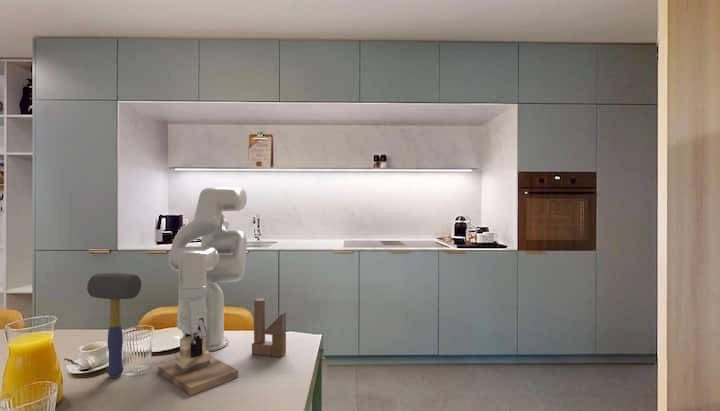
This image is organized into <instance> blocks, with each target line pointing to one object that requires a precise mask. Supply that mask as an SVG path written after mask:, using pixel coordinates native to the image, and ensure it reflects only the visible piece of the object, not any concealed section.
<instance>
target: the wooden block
mask: <svg viewBox="0 0 720 411" xmlns="http://www.w3.org/2000/svg"><path fill="white" fill-rule="evenodd" d="M266 335H271V341H268V340H266ZM286 339H287V311H284V312H283V313H281V314H280V315H279V316H278V317H277V318H276V319H275V320H274V321H273V322H272V323H271V324H270V325H269V326H268V327H267V328H266V299H265V298H262V297H261V298H255V299H254V300H253V343H251V355H256V356H267V357H273V358H275V357H277V358H283V357H284V356H285V355H286V354H287V340H286Z"/></svg>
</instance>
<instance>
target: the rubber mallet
mask: <svg viewBox="0 0 720 411" xmlns="http://www.w3.org/2000/svg"><path fill="white" fill-rule="evenodd" d="M141 288H142V280H141V278H140V276H139V275H137V274H135V273H134V274H133V273H123V272H107V273H106V272H105V273H102V272H101V273H95V274H93V275H92V276H91V277H90V279H89V280H88V282H87V286H86V289H87V293H88V295H89V296H91V298H95V299H104V300H109V326H108V327H109V328H108V330H107V331H108V332H107V349H108V350H107V351H108V367H107V369H106V370H107V375H108V376H109V378H118V377H120V376H122V374H123V372H124V365H123V354H122V353H123V345H124V339H123V338H124V337H123V328H122V325H121V300H132V299H135V298H136V297H137V296H138V295H139V293H140V292H141V290H142V289H141Z"/></svg>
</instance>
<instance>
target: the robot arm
mask: <svg viewBox="0 0 720 411" xmlns="http://www.w3.org/2000/svg"><path fill="white" fill-rule="evenodd" d="M246 192H247V191H246V190H245V188H243V187H239V186H238V187H226V186H225V187H222V186H221V187H220V186H219V187H218V186H217V187H216V186H215V187H214V186H213V187H206V188H203V189H202V190H201V192H200V193H199V196H198V200H197V204H196V209H195V213H194V217H193V220H191V221H190V222H188V223H187V224H186V225H185V226H183V227H182V228H181V229H180V230H179V231H178V232H177V233H176V234H175V235H174V238H173V240H172V243H171V247H170V250H169V256H168V264H169V267H170V268H171V269H172V270H174V271H177V272H178V303H177V315H176V327H177V329H178V330H180V331H181V332H182V338H184V337H187V336H191V335H192V344H191V357H192V358H194V357H197V356H201V355H202V342H203V339H204V337H206V350H207V351H209V352H211V351H212V352H213V351H217V350H220V349H222V348H225V347H227V346H228V344H229V338H228V337H227V336H225V330H224V329H225V327H224V326H225V318H224V317H225V315H224V314H225V310H224V309H225V308H224V307H225V305H224V302H225V300H224V299H225V296H224V292H223V290H222V288H221V287H220V285H218V283H233V282H234V283H235V282H240V281H242V279H243V277H244V274H245V271H246V270H245V269H246V261H247V260H246V259H247V248H248V246H247V245H248V241H247V236H246V234H245V232H244V231H242V230H238V229H233V230H231V229H230V230H229V221H228V219H227V218H226V217H225V215H224V214H223V212H240V211H241V210H243V209H244V208H245V207H246V205H247V193H246ZM199 238H201V243H200V246H187V245H188V244H190V243H191V242H193V241H194V240H197V239H199ZM197 334H199V335H198V336H197V337H196V338H195V335H197Z"/></svg>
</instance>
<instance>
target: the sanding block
mask: <svg viewBox="0 0 720 411" xmlns="http://www.w3.org/2000/svg"><path fill="white" fill-rule="evenodd" d="M198 335H199V334H197V335H195V338H196V337H197V336H198ZM191 344H192V335H191V336H187V337H184V338H183V337H180V339H179V353H178V354H177V355H174V356H175V357H174V358H175V360H174V361H175V368H176V369H178V370H179V371H181V372H182V373H185V372H188V371H191V370H194V369H197V368H200V367H203V366H206V365H209V364H210V356H211V351H207V350H206V337H204V339H203V342H202V355H201V356H197V357H194V358H192V357H191Z"/></svg>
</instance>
